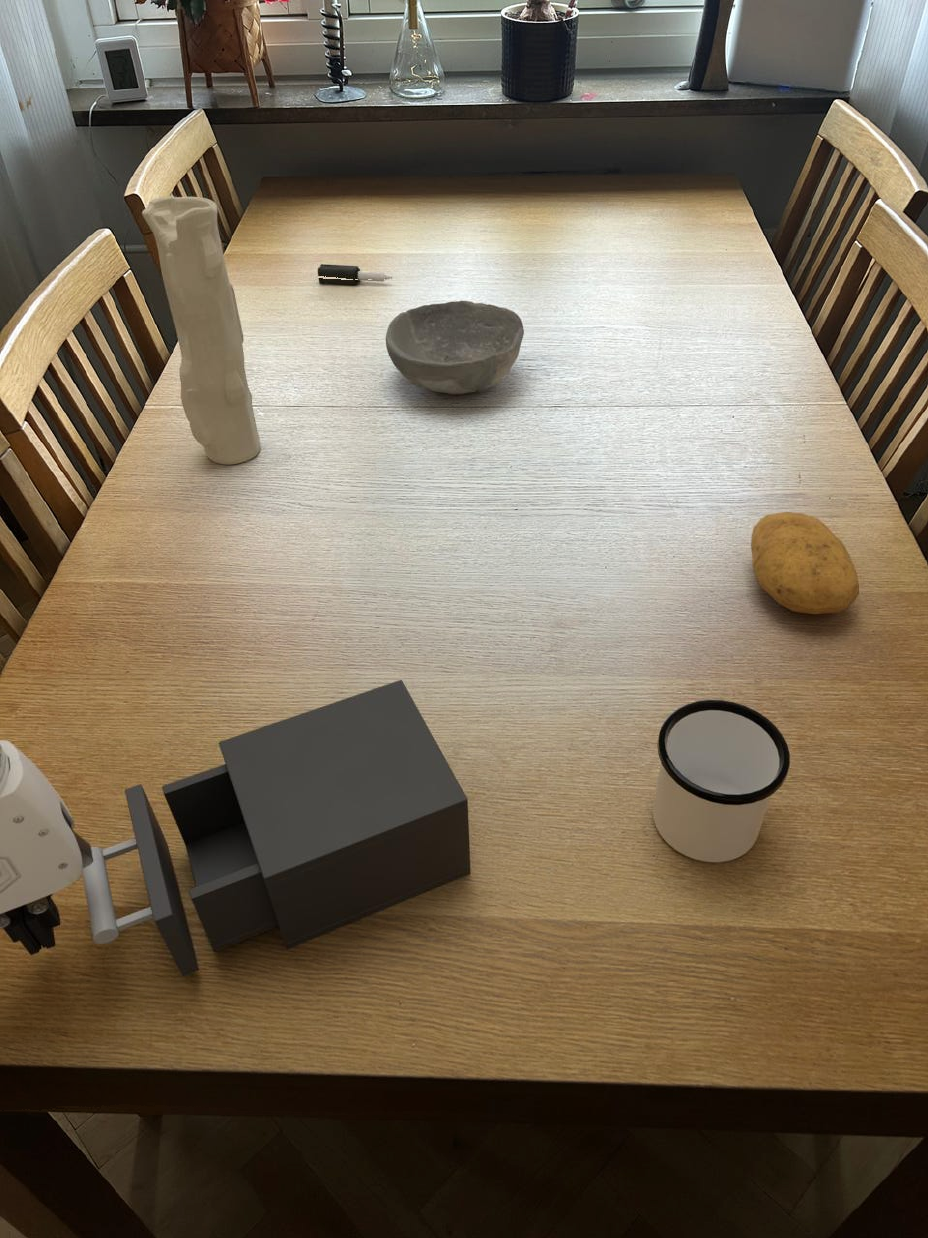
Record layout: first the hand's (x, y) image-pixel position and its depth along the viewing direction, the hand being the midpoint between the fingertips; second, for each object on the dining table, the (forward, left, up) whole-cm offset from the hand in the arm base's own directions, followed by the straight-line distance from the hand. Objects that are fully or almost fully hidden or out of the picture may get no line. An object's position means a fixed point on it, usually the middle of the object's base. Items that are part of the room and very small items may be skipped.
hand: (41, 932), depth 64 cm
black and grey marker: (+99, +57, -4) cm, 114 cm away
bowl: (+82, +25, -4) cm, 86 cm away
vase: (+53, +38, -4) cm, 65 cm away
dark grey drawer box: (+19, -11, -4) cm, 23 cm away
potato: (+67, -28, -4) cm, 73 cm away
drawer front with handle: (+11, -6, -3) cm, 13 cm away
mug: (+38, -32, -4) cm, 50 cm away
